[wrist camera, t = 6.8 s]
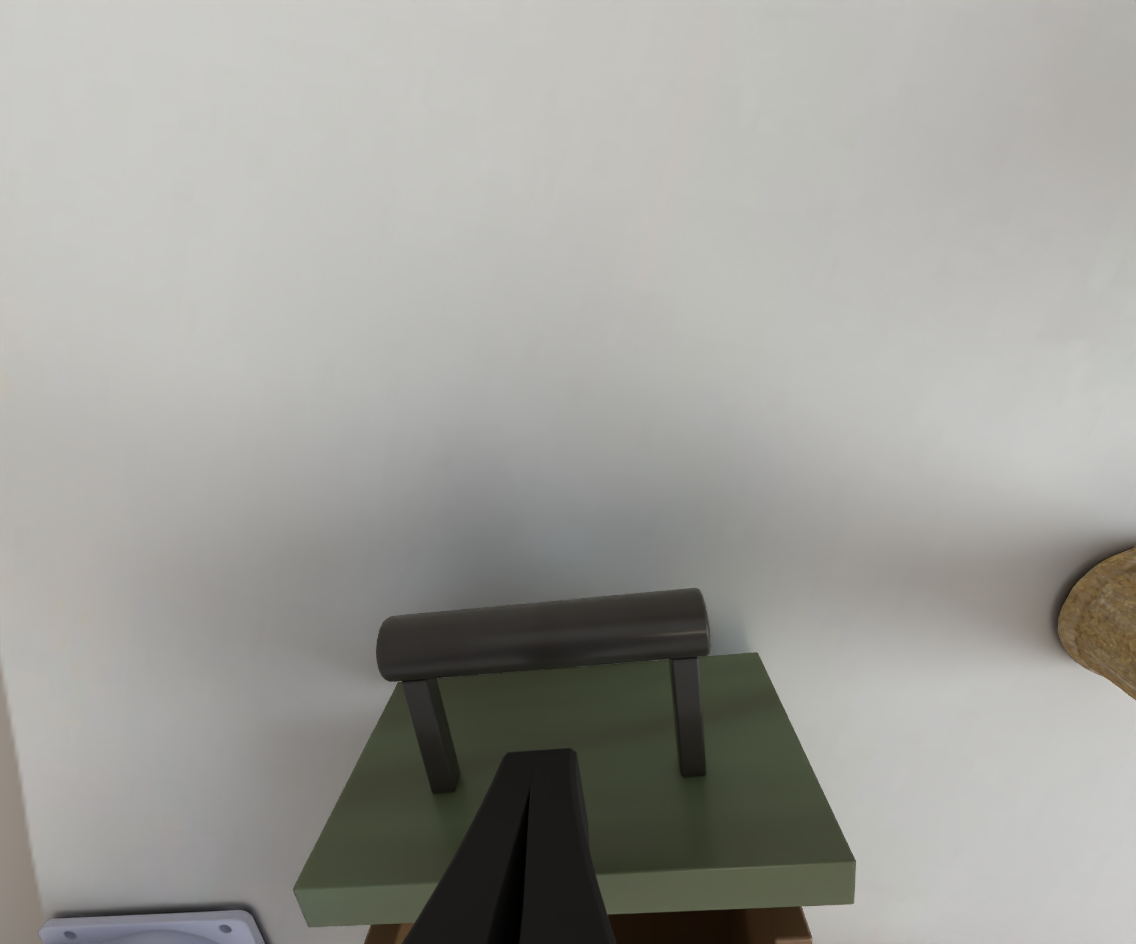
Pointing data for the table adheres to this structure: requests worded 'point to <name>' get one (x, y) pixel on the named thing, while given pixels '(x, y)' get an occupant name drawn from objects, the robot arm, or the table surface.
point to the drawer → (588, 771)
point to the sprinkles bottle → (1104, 621)
